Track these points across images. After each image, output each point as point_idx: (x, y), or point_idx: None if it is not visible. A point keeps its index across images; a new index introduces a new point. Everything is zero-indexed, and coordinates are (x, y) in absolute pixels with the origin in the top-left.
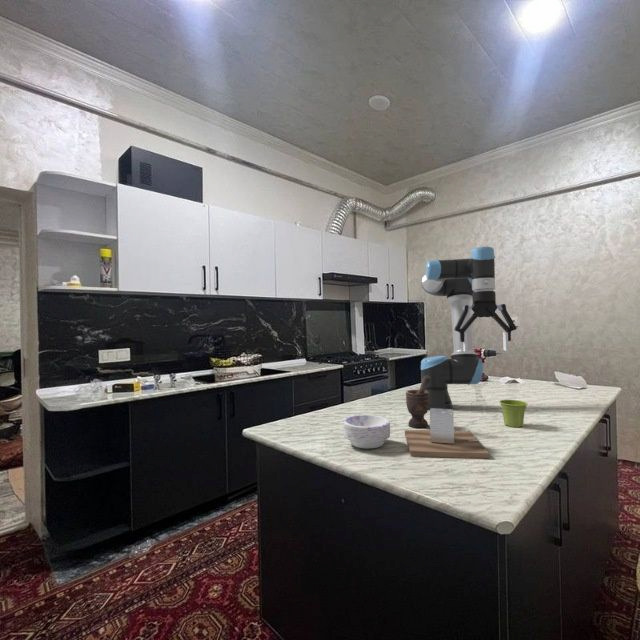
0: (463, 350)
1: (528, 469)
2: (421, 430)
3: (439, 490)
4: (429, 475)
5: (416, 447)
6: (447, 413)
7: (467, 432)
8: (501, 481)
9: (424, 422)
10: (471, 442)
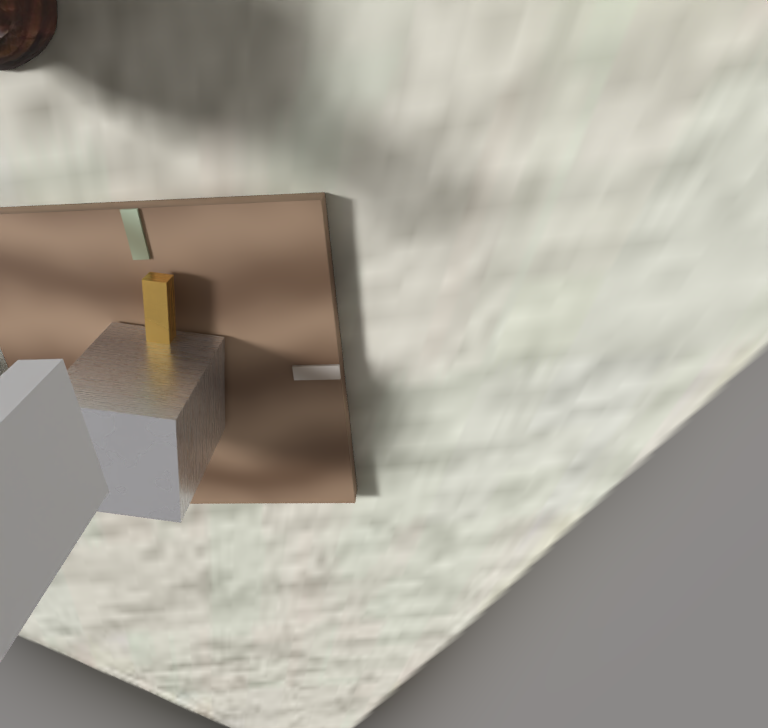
0: (15, 377)
1: (462, 559)
2: (43, 218)
3: (191, 673)
4: (158, 610)
5: None
6: (149, 507)
7: (303, 230)
8: (353, 628)
9: (21, 34)
10: (304, 392)
